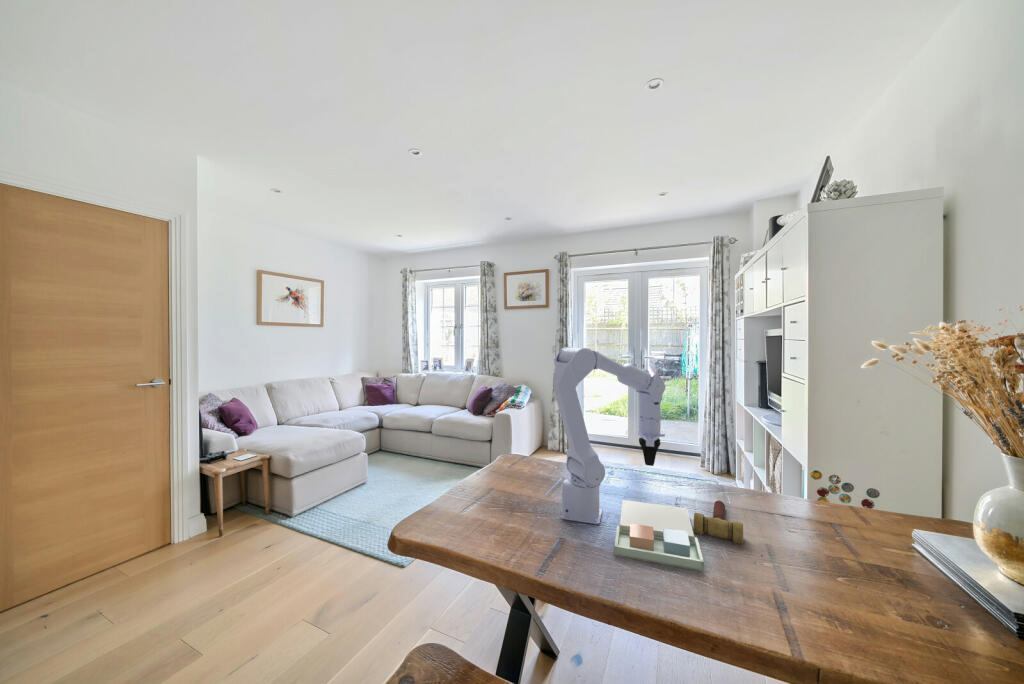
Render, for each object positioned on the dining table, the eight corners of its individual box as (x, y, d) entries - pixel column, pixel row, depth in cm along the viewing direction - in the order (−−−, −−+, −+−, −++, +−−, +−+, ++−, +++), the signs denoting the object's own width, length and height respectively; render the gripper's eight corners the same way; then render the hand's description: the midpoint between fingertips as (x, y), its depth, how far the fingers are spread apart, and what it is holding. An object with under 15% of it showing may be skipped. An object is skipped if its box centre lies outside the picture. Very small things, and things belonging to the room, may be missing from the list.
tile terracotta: (629, 546, 82) (629, 536, 82) (630, 533, 87) (630, 523, 87) (653, 551, 80) (653, 540, 80) (653, 537, 85) (653, 526, 85)
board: (619, 533, 88) (619, 524, 88) (622, 507, 102) (622, 499, 102) (694, 545, 83) (694, 536, 83) (686, 516, 96) (686, 508, 96)
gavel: (699, 489, 106) (741, 497, 101) (699, 505, 106) (741, 514, 100) (693, 516, 88) (743, 527, 83) (693, 536, 87) (743, 548, 82)
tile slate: (664, 552, 80) (664, 541, 80) (662, 538, 85) (662, 528, 84) (689, 556, 78) (689, 545, 78) (687, 542, 83) (687, 531, 83)
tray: (614, 555, 80) (614, 546, 80) (617, 533, 88) (617, 525, 88) (703, 571, 74) (703, 561, 74) (697, 546, 83) (697, 537, 83)
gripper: (666, 423, 96) (666, 475, 97) (663, 412, 110) (663, 457, 110) (637, 421, 99) (637, 472, 99) (638, 410, 112) (638, 455, 113)
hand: (649, 464), depth 105 cm, fingers closed
